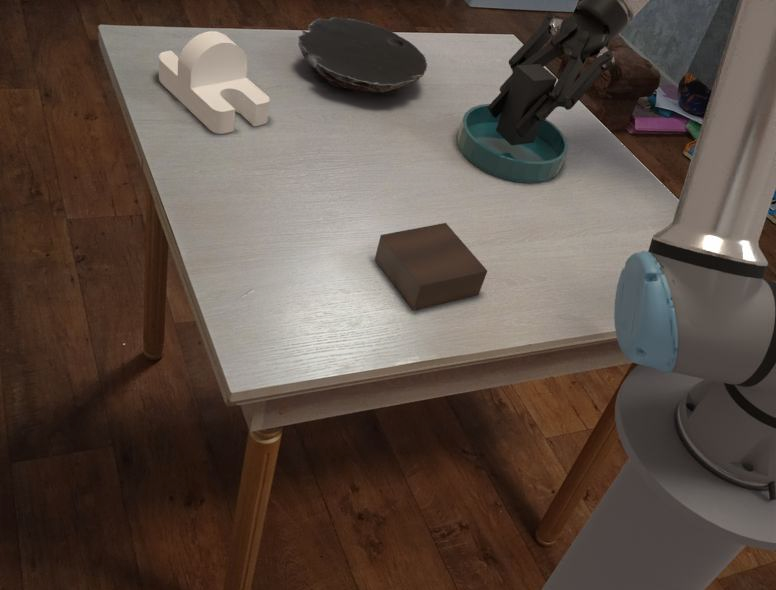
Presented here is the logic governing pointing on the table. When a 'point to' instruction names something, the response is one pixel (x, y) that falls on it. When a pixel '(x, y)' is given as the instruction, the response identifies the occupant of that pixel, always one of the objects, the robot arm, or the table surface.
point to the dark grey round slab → (361, 55)
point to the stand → (430, 265)
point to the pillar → (524, 101)
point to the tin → (511, 148)
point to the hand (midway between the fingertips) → (505, 122)
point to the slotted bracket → (214, 82)
